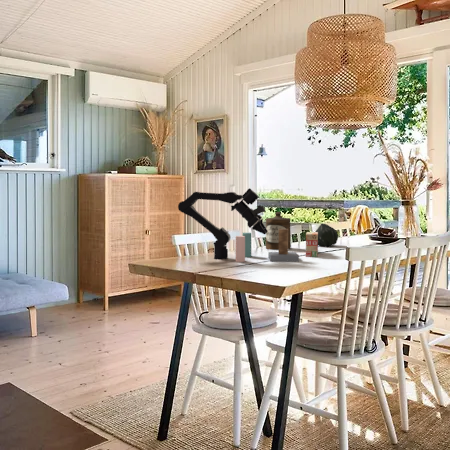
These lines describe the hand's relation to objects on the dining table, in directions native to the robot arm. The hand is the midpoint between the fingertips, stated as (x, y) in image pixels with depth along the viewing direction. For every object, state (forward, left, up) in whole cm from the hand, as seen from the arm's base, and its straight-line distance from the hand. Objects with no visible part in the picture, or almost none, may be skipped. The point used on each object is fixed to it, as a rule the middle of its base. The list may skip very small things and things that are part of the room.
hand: (266, 232), depth 279 cm
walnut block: (+9, -1, -10) cm, 14 cm away
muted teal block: (-9, +12, -13) cm, 20 cm away
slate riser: (+9, -1, -13) cm, 16 cm away
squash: (+42, +62, -14) cm, 76 cm away
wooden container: (+11, +49, -14) cm, 52 cm away
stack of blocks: (+26, +20, -14) cm, 36 cm away
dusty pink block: (-13, -8, -13) cm, 21 cm away
